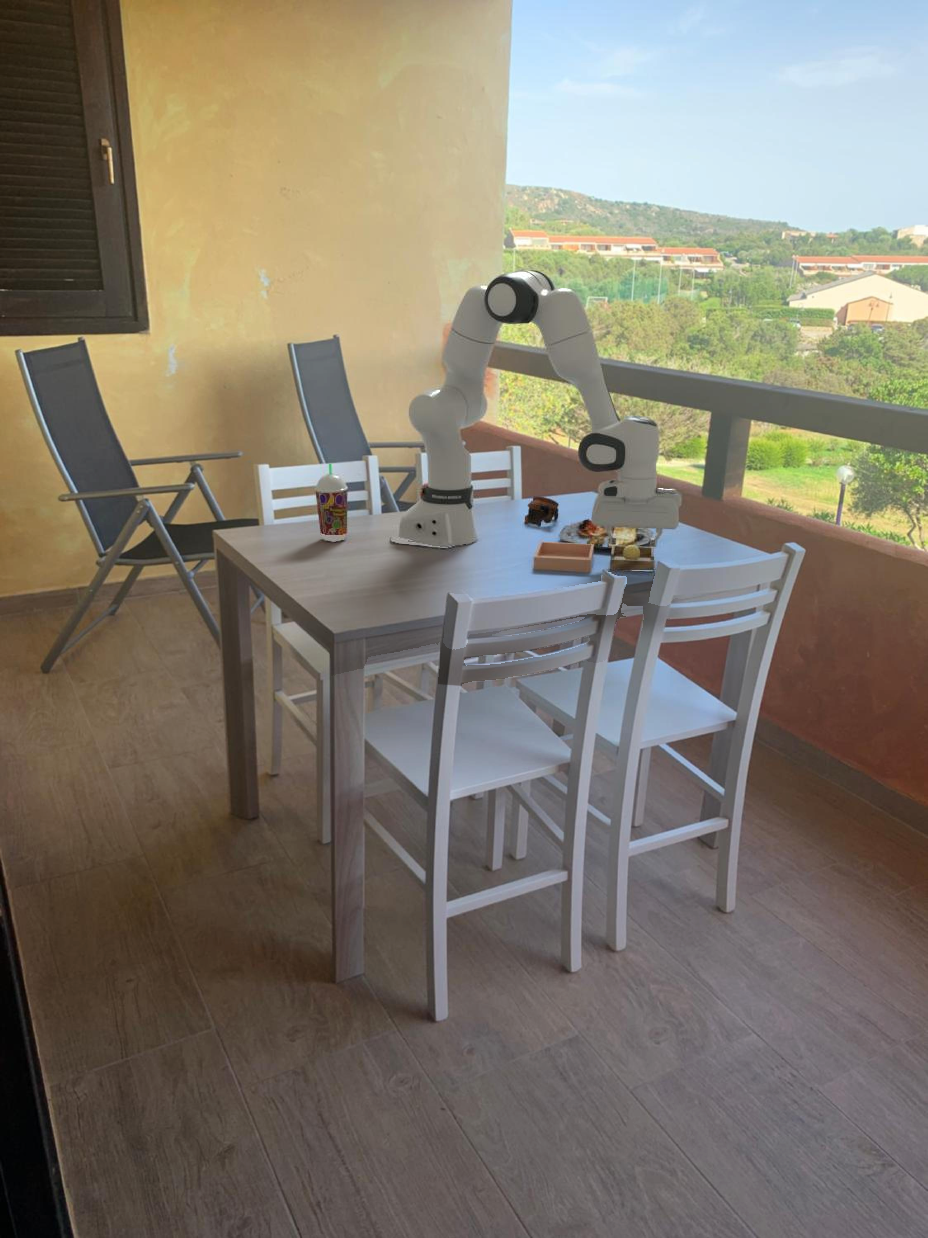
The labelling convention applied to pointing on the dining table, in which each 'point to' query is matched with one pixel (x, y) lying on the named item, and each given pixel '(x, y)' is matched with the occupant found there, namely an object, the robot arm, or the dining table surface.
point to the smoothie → (332, 504)
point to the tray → (641, 563)
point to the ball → (631, 552)
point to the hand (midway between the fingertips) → (632, 545)
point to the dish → (564, 556)
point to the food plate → (604, 534)
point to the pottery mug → (541, 511)
